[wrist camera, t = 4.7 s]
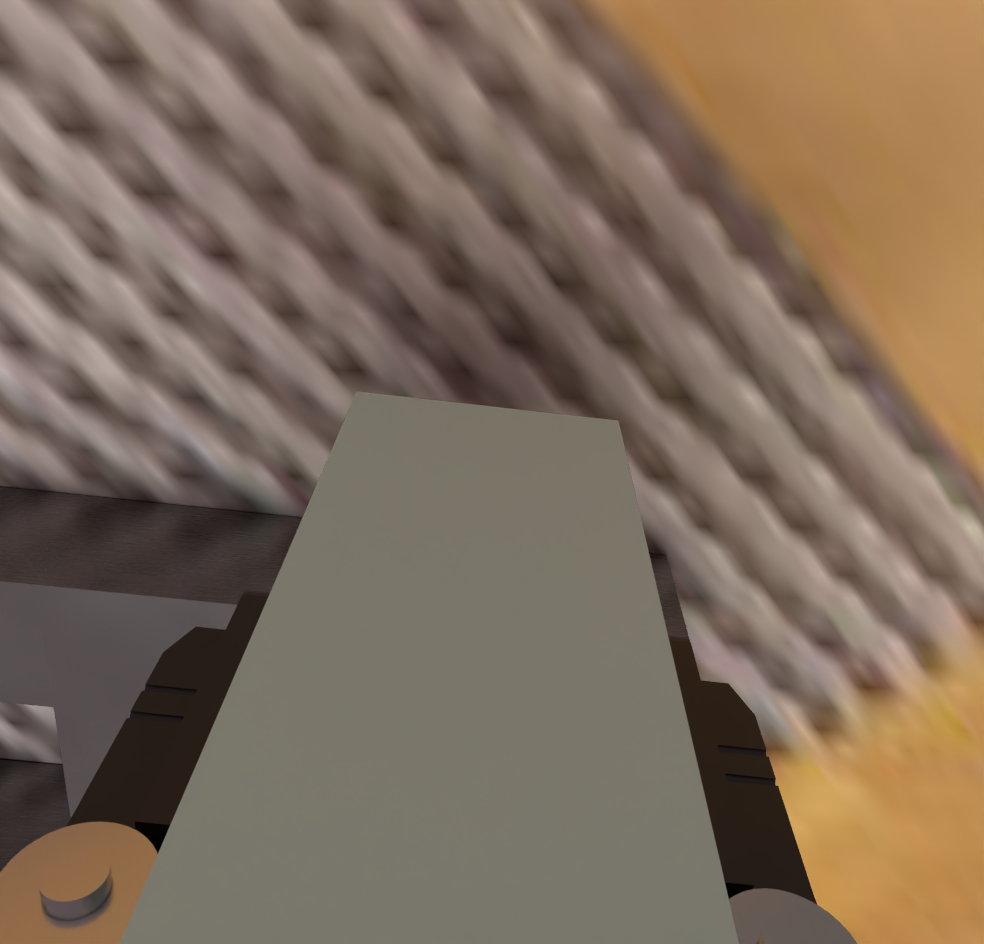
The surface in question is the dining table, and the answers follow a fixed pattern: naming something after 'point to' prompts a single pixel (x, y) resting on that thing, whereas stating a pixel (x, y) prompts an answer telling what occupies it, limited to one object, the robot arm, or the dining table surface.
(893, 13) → the dining table surface
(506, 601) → the sage green square post
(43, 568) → the grey peg hole base
